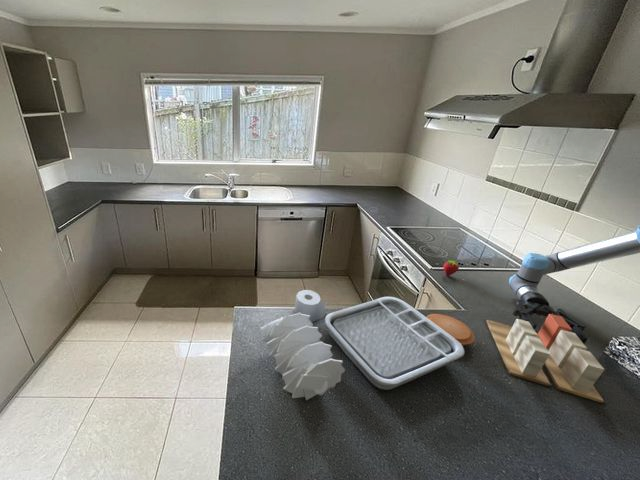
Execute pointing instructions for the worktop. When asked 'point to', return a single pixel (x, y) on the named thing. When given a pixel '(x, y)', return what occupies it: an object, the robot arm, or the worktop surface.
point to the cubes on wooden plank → (573, 366)
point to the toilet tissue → (310, 305)
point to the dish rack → (391, 341)
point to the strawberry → (450, 267)
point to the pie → (453, 328)
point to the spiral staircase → (301, 356)
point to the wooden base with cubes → (521, 350)
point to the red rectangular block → (552, 329)
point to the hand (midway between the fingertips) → (558, 334)
